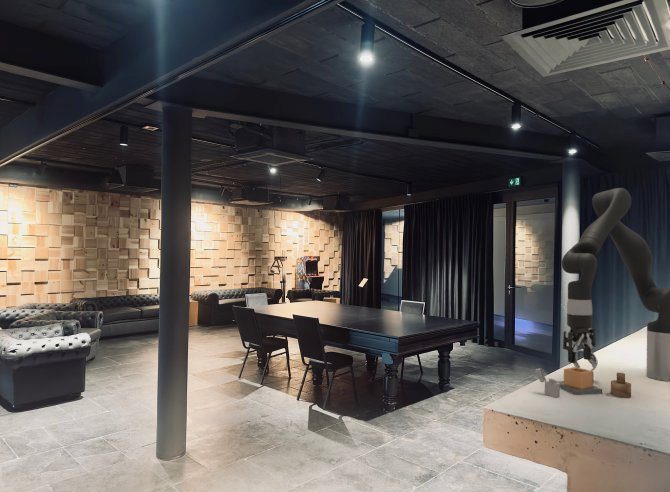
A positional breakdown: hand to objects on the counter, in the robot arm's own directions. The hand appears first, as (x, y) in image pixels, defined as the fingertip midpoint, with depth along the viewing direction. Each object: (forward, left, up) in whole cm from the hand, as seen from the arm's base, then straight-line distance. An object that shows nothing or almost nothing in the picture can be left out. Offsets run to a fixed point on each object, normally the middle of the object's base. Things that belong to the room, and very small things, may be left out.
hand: (579, 361), depth 152 cm
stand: (-10, +7, -10) cm, 15 cm away
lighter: (+14, +4, -10) cm, 18 cm away
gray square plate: (0, 0, -10) cm, 10 cm away
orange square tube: (0, 0, -8) cm, 8 cm away
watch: (-10, -10, -10) cm, 17 cm away
